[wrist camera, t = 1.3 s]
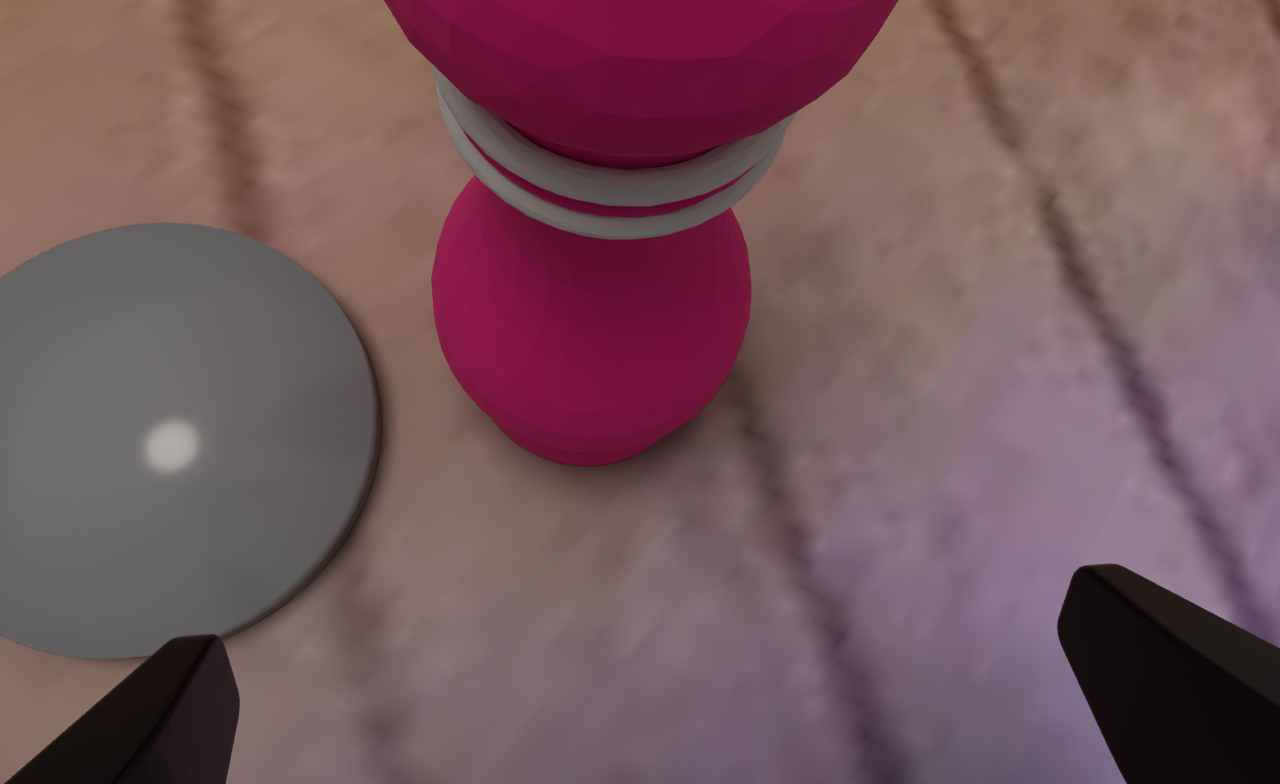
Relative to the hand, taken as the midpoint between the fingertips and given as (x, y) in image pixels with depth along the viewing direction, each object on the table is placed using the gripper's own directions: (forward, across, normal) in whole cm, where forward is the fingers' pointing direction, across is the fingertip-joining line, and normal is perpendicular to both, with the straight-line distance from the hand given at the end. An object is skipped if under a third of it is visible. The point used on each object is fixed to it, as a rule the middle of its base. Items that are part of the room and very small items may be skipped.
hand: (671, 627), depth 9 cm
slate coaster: (+14, +11, +5) cm, 18 cm away
